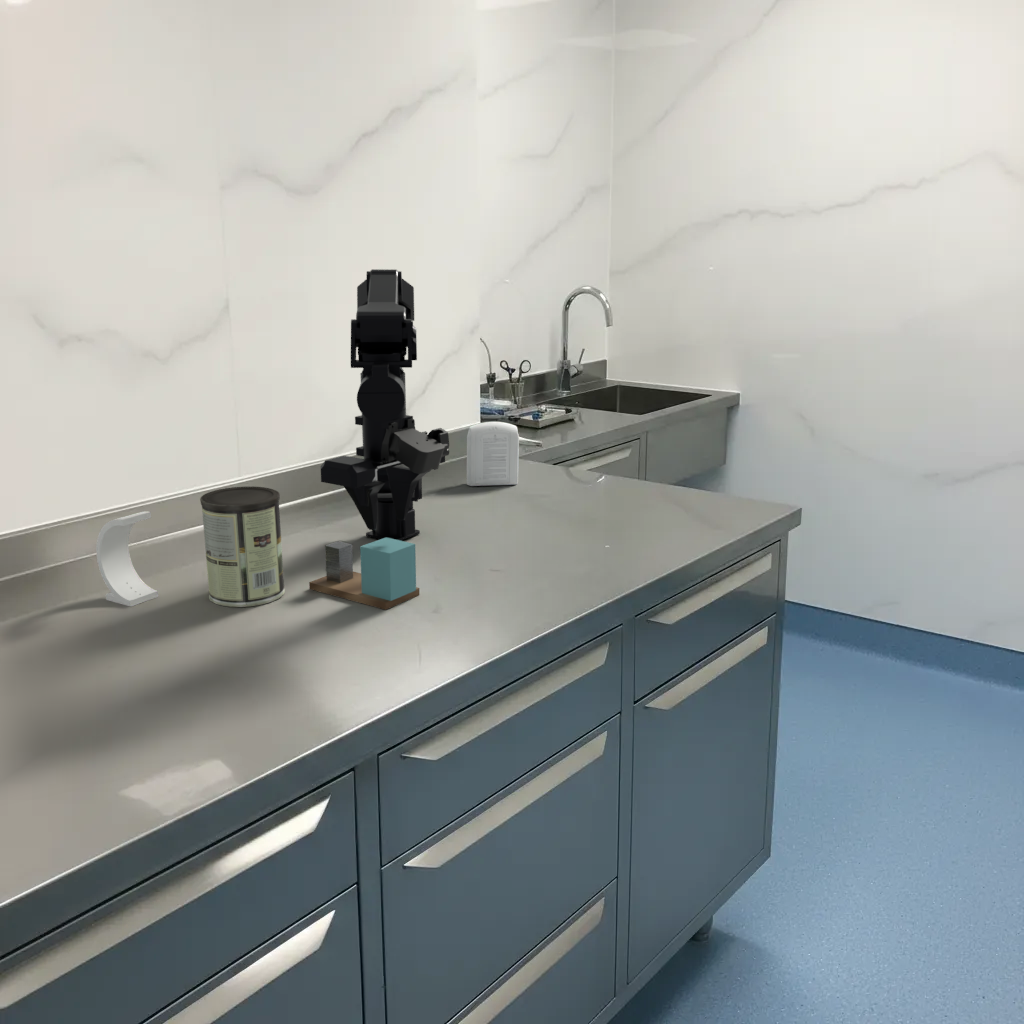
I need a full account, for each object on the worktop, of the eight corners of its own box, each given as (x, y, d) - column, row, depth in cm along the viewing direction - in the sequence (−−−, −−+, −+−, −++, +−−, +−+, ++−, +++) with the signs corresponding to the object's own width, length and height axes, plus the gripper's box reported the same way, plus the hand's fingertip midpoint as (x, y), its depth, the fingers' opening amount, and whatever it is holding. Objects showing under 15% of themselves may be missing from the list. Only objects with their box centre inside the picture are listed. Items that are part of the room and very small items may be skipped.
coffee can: (235, 578, 150) (229, 483, 146) (298, 587, 147) (294, 489, 143) (192, 602, 141) (183, 501, 137) (258, 611, 137) (252, 508, 134)
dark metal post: (326, 579, 147) (325, 545, 145) (339, 574, 149) (338, 541, 147) (340, 583, 145) (338, 548, 144) (353, 578, 147) (351, 544, 146)
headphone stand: (130, 606, 139) (122, 519, 136) (100, 598, 142) (91, 513, 139) (158, 596, 143) (150, 511, 139) (128, 588, 146) (120, 505, 142)
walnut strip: (309, 589, 146) (309, 582, 146) (344, 575, 151) (344, 569, 151) (385, 609, 138) (385, 602, 138) (419, 594, 144) (419, 588, 143)
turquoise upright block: (361, 593, 141) (360, 546, 140) (387, 582, 146) (386, 537, 144) (390, 600, 139) (389, 553, 137) (416, 590, 143) (415, 543, 141)
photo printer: (516, 480, 208) (516, 419, 205) (520, 485, 204) (521, 423, 201) (465, 482, 206) (464, 420, 203) (468, 488, 202) (468, 425, 199)
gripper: (383, 426, 124) (386, 552, 128) (476, 405, 138) (477, 518, 143) (315, 416, 130) (320, 537, 134) (411, 397, 144) (413, 506, 149)
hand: (386, 524), depth 140 cm, fingers open, 6 cm apart
